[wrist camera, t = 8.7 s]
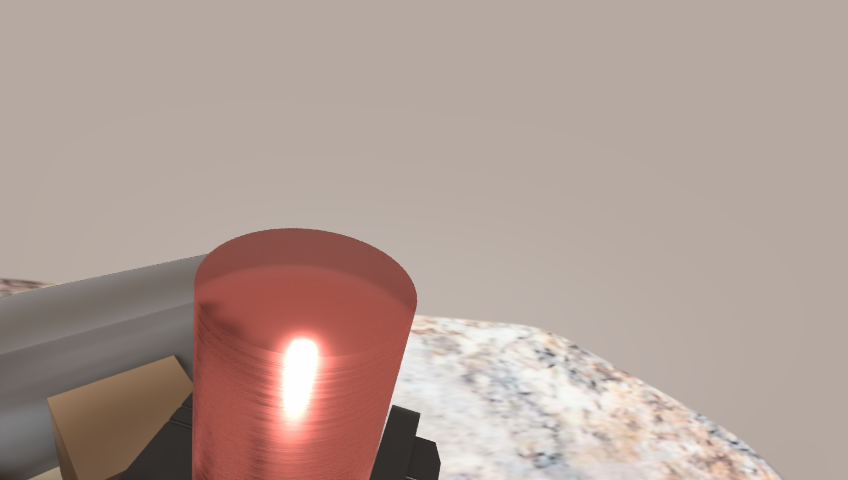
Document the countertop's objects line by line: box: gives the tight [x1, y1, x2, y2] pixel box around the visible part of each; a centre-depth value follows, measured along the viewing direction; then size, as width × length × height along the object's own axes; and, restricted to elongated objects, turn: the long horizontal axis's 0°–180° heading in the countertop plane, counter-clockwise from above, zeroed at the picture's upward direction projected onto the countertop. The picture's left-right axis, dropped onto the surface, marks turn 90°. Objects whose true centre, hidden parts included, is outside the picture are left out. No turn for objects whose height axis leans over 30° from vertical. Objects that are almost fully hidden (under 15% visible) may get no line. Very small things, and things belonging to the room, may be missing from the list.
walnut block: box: [47, 355, 193, 480], centre depth 17 cm, size 4×4×4 cm
